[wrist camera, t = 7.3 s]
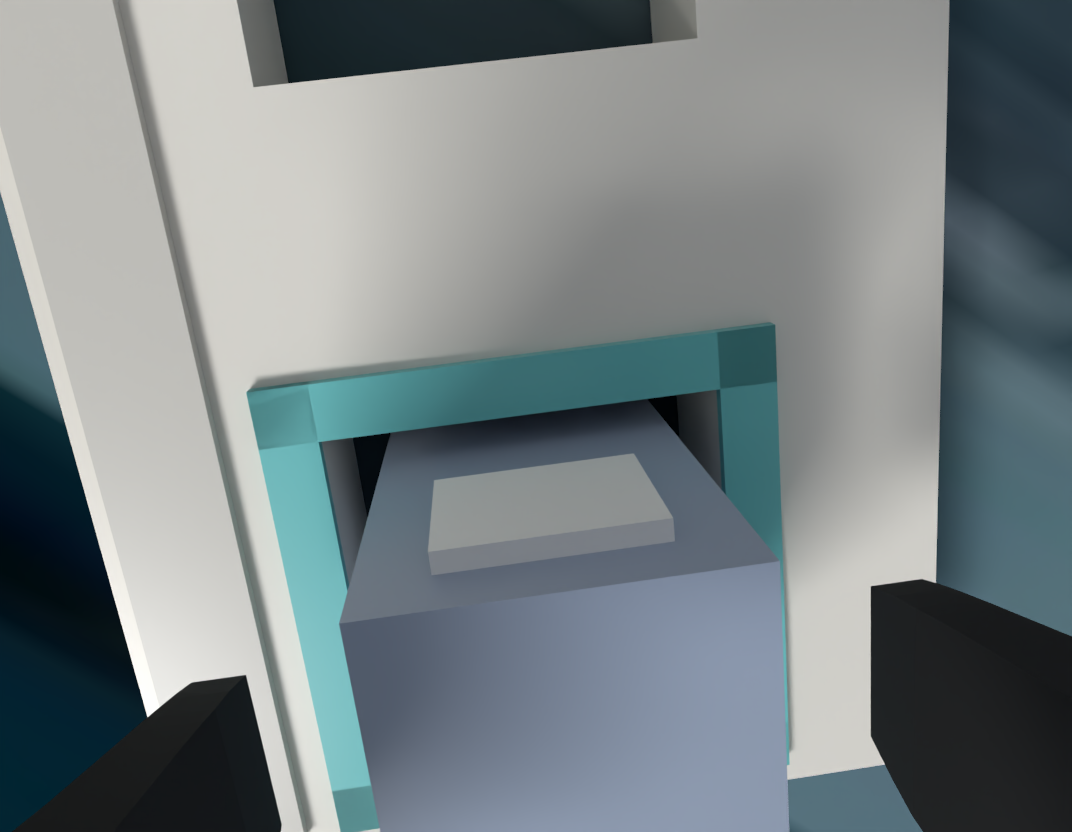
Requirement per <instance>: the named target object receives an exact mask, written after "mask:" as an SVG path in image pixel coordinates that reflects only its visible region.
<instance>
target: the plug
mask: <svg viewBox="0 0 1072 832" xmlns="http://www.w3.org/2000/svg"><path fill="white" fill-rule="evenodd" d="M339 626H340V631H341V636H342V641H343V647H344V652H345V657H346V662H347V667H348V672H349V677H350V682H351V687H352V692H353V697H354V702H355V707H356V712H357V717H358V722H359V727H360V732H361V737H362V742H363V747H364V752H365V757H366V762H367V767H368V772H369V777H370V782H371V787H372V792H373V797H374V803H375V808H376V813H377V818H378V823H379V828H380V832H789V811H788V781H787V752H786V723H785V694H784V665H783V635H782V606H781V577H780V561H779V559H778V558H777V557H776V556H775V554H774V553H773V552H772V551H771V550H770V548H769V547H768V546H767V545H766V544H765V542H764V541H763V540H762V539H761V537H760V536H759V535H758V534H757V533H756V531H755V530H754V529H753V528H752V526H751V525H750V524H749V523H748V522H747V520H746V519H745V518H744V517H743V515H742V514H741V513H740V512H739V511H738V509H737V508H736V507H735V506H734V504H733V503H732V502H731V501H730V500H729V498H728V497H727V496H726V495H725V493H724V492H723V491H722V490H721V489H720V487H719V486H718V485H717V484H716V482H715V481H714V480H713V479H712V478H711V476H710V475H709V474H708V473H707V472H706V470H705V469H704V468H703V467H702V465H701V464H700V463H699V462H698V461H697V459H696V458H695V457H694V456H693V454H692V453H691V452H690V451H689V450H688V448H687V447H686V446H685V445H684V443H683V442H682V441H681V440H680V439H679V437H678V436H677V435H676V434H675V432H674V431H673V430H672V429H671V428H670V426H669V425H668V424H667V423H666V421H665V420H664V419H663V418H662V417H661V415H660V414H659V413H658V412H657V410H656V409H655V408H654V407H653V406H652V404H651V403H650V402H649V401H648V399H643V400H635V401H627V402H620V403H612V404H605V405H597V406H589V407H582V408H574V409H567V410H559V411H551V412H544V413H536V414H529V415H521V416H513V417H506V418H498V419H491V420H483V421H475V422H468V423H460V424H453V425H445V426H437V427H430V428H422V429H415V430H407V431H399V432H392V433H390V437H389V441H388V444H387V448H386V452H385V455H384V459H383V463H382V467H381V470H380V474H379V478H378V481H377V485H376V489H375V492H374V496H373V500H372V503H371V507H370V511H369V515H368V518H367V522H366V526H365V529H364V533H363V537H362V540H361V544H360V548H359V552H358V555H357V559H356V563H355V566H354V570H353V574H352V577H351V581H350V585H349V588H348V592H347V596H346V600H345V603H344V607H343V611H342V614H341V618H340V622H339Z"/></svg>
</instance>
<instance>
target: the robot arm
mask: <svg viewBox="0 0 1072 832" xmlns="http://www.w3.org/2000/svg"><path fill="white" fill-rule="evenodd" d="M871 738H872V740H873V742H874V744H875V746H876V748H877V750H878V752H879V754H880V756H881V758H882V760H883V762H884V764H885V765H886V767H887V769H888V771H889V773H890V775H891V777H892V779H893V781H894V783H895V785H896V787H897V788H898V790H899V792H900V794H901V796H902V798H903V799H904V801H905V803H906V805H907V807H908V809H909V810H910V812H911V814H912V816H913V817H914V819H915V820H916V822H917V823H918V825H919V826H920V828H921V829H922V831H923V832H1072V636H1069V635H1067V634H1064V633H1062V632H1059V631H1057V630H1054V629H1052V628H1050V627H1047V626H1045V625H1042V624H1040V623H1037V622H1035V621H1032V620H1030V619H1028V618H1025V617H1023V616H1020V615H1018V614H1015V613H1013V612H1010V611H1008V610H1006V609H1003V608H1001V607H998V606H996V605H993V604H991V603H988V602H986V601H983V600H981V599H978V598H976V597H973V596H971V595H968V594H965V593H963V592H960V591H957V590H955V589H952V588H949V587H946V586H943V585H940V584H937V583H934V582H931V581H927V580H924V579H918V580H911V581H904V582H897V583H890V584H883V585H876V586H871ZM281 827H282V823H281V819H280V815H279V811H278V807H277V802H276V798H275V794H274V790H273V786H272V782H271V777H270V773H269V769H268V765H267V761H266V756H265V752H264V748H263V744H262V740H261V736H260V731H259V727H258V723H257V719H256V715H255V710H254V706H253V702H252V698H251V694H250V690H249V685H248V681H247V677H246V675H241V676H234V677H227V678H220V679H213V680H206V681H199V682H192V683H190V684H189V685H187V686H186V687H185V688H183V689H182V690H181V691H179V692H178V693H177V694H175V695H174V696H173V697H171V698H170V699H169V700H168V701H166V702H165V703H164V704H163V705H162V706H160V707H159V708H158V709H157V710H156V711H154V712H153V713H152V714H151V715H150V716H149V717H147V718H146V719H145V720H144V721H143V722H142V723H140V724H139V725H138V726H137V727H136V728H135V729H133V730H132V731H131V732H130V733H129V734H128V735H127V736H125V737H124V738H123V739H122V740H121V741H120V742H118V743H117V744H116V745H115V746H114V747H113V748H112V749H110V750H109V751H108V752H107V753H106V754H105V755H103V756H102V757H101V758H100V759H99V760H98V761H96V762H95V763H94V764H93V765H92V766H91V767H89V768H88V769H87V770H86V771H85V772H84V773H82V774H81V775H80V776H79V777H78V778H77V779H75V780H74V781H73V782H72V783H71V784H70V785H68V786H67V787H66V788H65V789H64V790H63V791H61V792H60V793H59V794H58V795H57V796H56V797H54V798H53V799H52V800H51V801H50V802H48V803H47V804H46V805H45V806H44V807H42V808H41V809H40V810H39V811H37V812H36V813H35V814H34V815H32V816H31V817H30V818H29V819H27V820H26V821H25V822H24V823H22V824H21V825H20V826H19V827H17V828H16V829H15V830H14V831H12V832H281Z"/></svg>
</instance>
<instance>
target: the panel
mask: <svg viewBox="0 0 1072 832" xmlns="http://www.w3.org/2000/svg"><path fill="white" fill-rule="evenodd" d="M650 11H651V26H652V41H653V43H651V44H642V45H633V46H624V47H615V48H605V49H596V50H587V51H578V52H569V53H560V54H551V55H542V56H533V57H524V58H515V59H506V60H497V61H488V62H478V63H469V64H460V65H451V66H442V67H433V68H424V69H415V70H406V71H397V72H388V73H379V74H370V75H360V76H351V77H342V78H333V79H324V80H315V81H306V82H297V83H288V78H287V72H286V67H285V61H284V56H283V50H282V45H281V39H280V34H279V28H278V23H277V17H276V12H275V6H274V0H0V192H1V195H2V199H3V203H4V206H5V210H6V213H7V217H8V220H9V224H10V228H11V231H12V235H13V238H14V242H15V245H16V249H17V253H18V256H19V260H20V263H21V267H22V270H23V274H24V277H25V281H26V285H27V288H28V292H29V295H30V299H31V302H32V306H33V310H34V313H35V317H36V320H37V324H38V327H39V331H40V335H41V338H42V342H43V345H44V349H45V352H46V356H47V360H48V363H49V367H50V370H51V374H52V377H53V381H54V385H55V388H56V392H57V395H58V399H59V402H60V406H61V410H62V413H63V417H64V420H65V424H66V427H67V431H68V435H69V438H70V442H71V445H72V449H73V452H74V456H75V460H76V463H77V467H78V470H79V474H80V477H81V481H82V485H83V488H84V492H85V495H86V499H87V502H88V506H89V510H90V513H91V517H92V520H93V524H94V527H95V531H96V534H97V538H98V542H99V545H100V549H101V552H102V556H103V559H104V563H105V567H106V570H107V574H108V577H109V581H110V584H111V588H112V592H113V595H114V599H115V602H116V606H117V609H118V613H119V617H120V620H121V624H122V627H123V631H124V634H125V638H126V642H127V645H128V649H129V652H130V656H131V659H132V663H133V667H134V670H135V674H136V677H137V681H138V684H139V688H140V692H141V695H142V699H143V702H144V706H145V709H146V713H147V717H149V716H150V715H151V714H152V713H153V712H154V711H156V710H157V709H158V708H159V707H160V706H162V705H163V704H164V703H165V702H166V701H168V700H169V699H170V698H171V697H173V696H174V695H175V694H177V693H178V692H179V691H181V690H182V689H183V688H185V687H186V686H187V685H189V684H190V683H192V682H199V681H206V680H213V679H220V678H227V677H234V676H241V675H246V677H247V681H248V685H249V690H250V694H251V698H252V702H253V706H254V710H255V715H256V719H257V723H258V727H259V731H260V736H261V740H262V744H263V748H264V752H265V756H266V761H267V765H268V769H269V773H270V777H271V782H272V786H273V790H274V794H275V798H276V802H277V807H278V811H279V815H280V819H281V823H282V827H281V832H380V828H379V823H378V818H377V813H376V808H375V803H374V797H373V792H372V787H371V782H370V777H369V772H368V767H367V762H366V757H365V752H364V747H363V742H362V737H361V732H360V727H359V722H358V717H357V712H356V707H355V702H354V697H353V692H352V687H351V682H350V677H349V672H348V667H347V662H346V657H345V652H344V647H343V641H342V636H341V631H340V626H339V622H340V618H341V614H342V611H343V607H344V603H345V600H346V596H347V592H348V588H349V585H350V581H351V577H352V574H353V570H354V566H355V563H356V559H357V555H358V552H359V548H360V544H361V540H362V537H363V533H364V529H365V526H366V522H367V513H366V508H365V502H364V497H363V491H362V486H361V480H360V475H359V469H358V464H357V458H356V453H355V447H354V442H353V438H354V437H361V436H369V435H377V434H384V433H392V432H399V431H407V430H415V429H422V428H430V427H437V426H445V425H453V424H460V423H468V422H475V421H483V420H491V419H498V418H506V417H513V416H521V415H529V414H536V413H544V412H551V411H559V410H567V409H574V408H582V407H589V406H597V405H605V404H612V403H620V402H627V401H635V400H643V399H650V398H658V397H665V396H673V395H676V397H677V412H678V426H679V439H680V440H681V441H682V442H683V443H684V445H685V446H686V447H687V448H688V450H689V451H690V452H691V453H692V454H693V456H694V457H695V458H696V459H697V461H698V462H699V463H700V464H701V465H702V467H703V468H704V469H705V470H706V472H707V473H708V474H709V475H710V476H711V478H712V479H713V480H714V481H715V482H716V484H717V485H718V486H719V487H720V489H721V490H722V491H723V492H724V493H725V495H726V496H727V497H728V498H729V500H730V501H731V502H732V503H733V504H734V506H735V507H736V508H737V509H738V511H739V512H740V513H741V514H742V515H743V517H744V518H745V519H746V520H747V522H748V523H749V524H750V525H751V526H752V528H753V529H754V530H755V531H756V533H757V534H758V535H759V536H760V537H761V539H762V540H763V541H764V542H765V544H766V545H767V546H768V547H769V548H770V550H771V551H772V552H773V553H774V554H775V556H776V557H777V558H778V559H779V561H780V577H781V606H782V635H783V665H784V694H785V723H786V752H787V780H788V779H795V778H801V777H808V776H814V775H821V774H827V773H833V772H840V771H846V770H853V769H859V768H866V767H872V766H878V765H885V764H884V762H883V760H882V758H881V756H880V754H879V752H878V750H877V748H876V746H875V744H874V742H873V740H872V738H871V586H876V585H883V584H890V583H897V582H904V581H911V580H918V579H924V580H927V581H931V582H934V583H936V556H937V513H938V470H939V427H940V384H941V341H942V297H943V254H944V211H945V168H946V125H947V82H948V39H949V0H650Z"/></svg>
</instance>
